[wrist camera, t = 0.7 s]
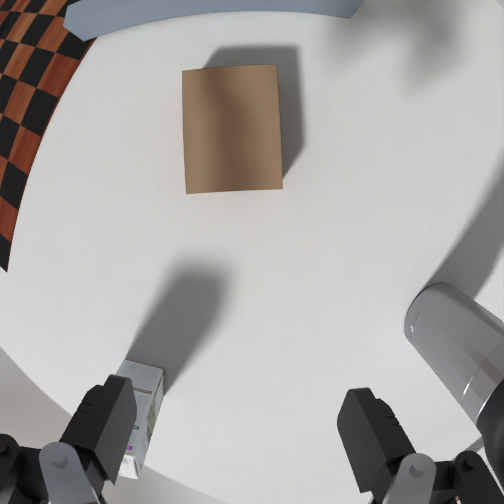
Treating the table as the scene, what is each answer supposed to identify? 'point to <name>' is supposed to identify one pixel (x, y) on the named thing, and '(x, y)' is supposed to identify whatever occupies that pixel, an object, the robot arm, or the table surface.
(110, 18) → the board
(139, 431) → the syrup box
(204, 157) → the block
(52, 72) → the chessboard
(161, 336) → the table surface
